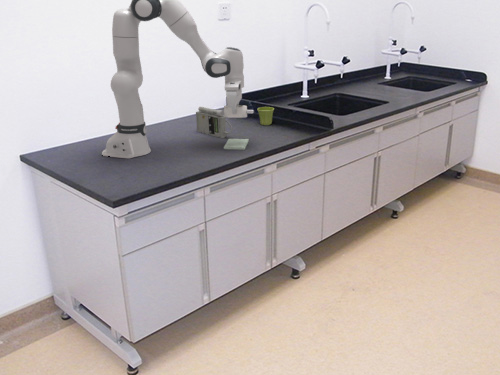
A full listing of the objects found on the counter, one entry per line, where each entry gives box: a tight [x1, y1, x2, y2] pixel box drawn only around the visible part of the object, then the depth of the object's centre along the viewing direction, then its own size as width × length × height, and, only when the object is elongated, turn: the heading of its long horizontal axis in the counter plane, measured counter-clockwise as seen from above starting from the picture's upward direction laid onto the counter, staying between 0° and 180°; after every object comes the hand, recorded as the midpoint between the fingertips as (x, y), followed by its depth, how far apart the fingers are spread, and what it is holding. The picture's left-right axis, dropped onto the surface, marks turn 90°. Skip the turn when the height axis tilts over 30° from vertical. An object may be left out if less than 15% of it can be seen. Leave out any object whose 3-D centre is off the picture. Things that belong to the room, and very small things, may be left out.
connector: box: [223, 104, 255, 119], centre depth 235 cm, size 14×4×5 cm, turn 82°
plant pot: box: [256, 106, 275, 126], centre depth 275 cm, size 9×9×9 cm
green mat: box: [223, 138, 250, 151], centre depth 242 cm, size 10×14×1 cm
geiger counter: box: [195, 106, 233, 139], centre depth 257 cm, size 14×6×25 cm
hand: (235, 112), depth 236 cm, fingers closed on connector, 4 cm apart
